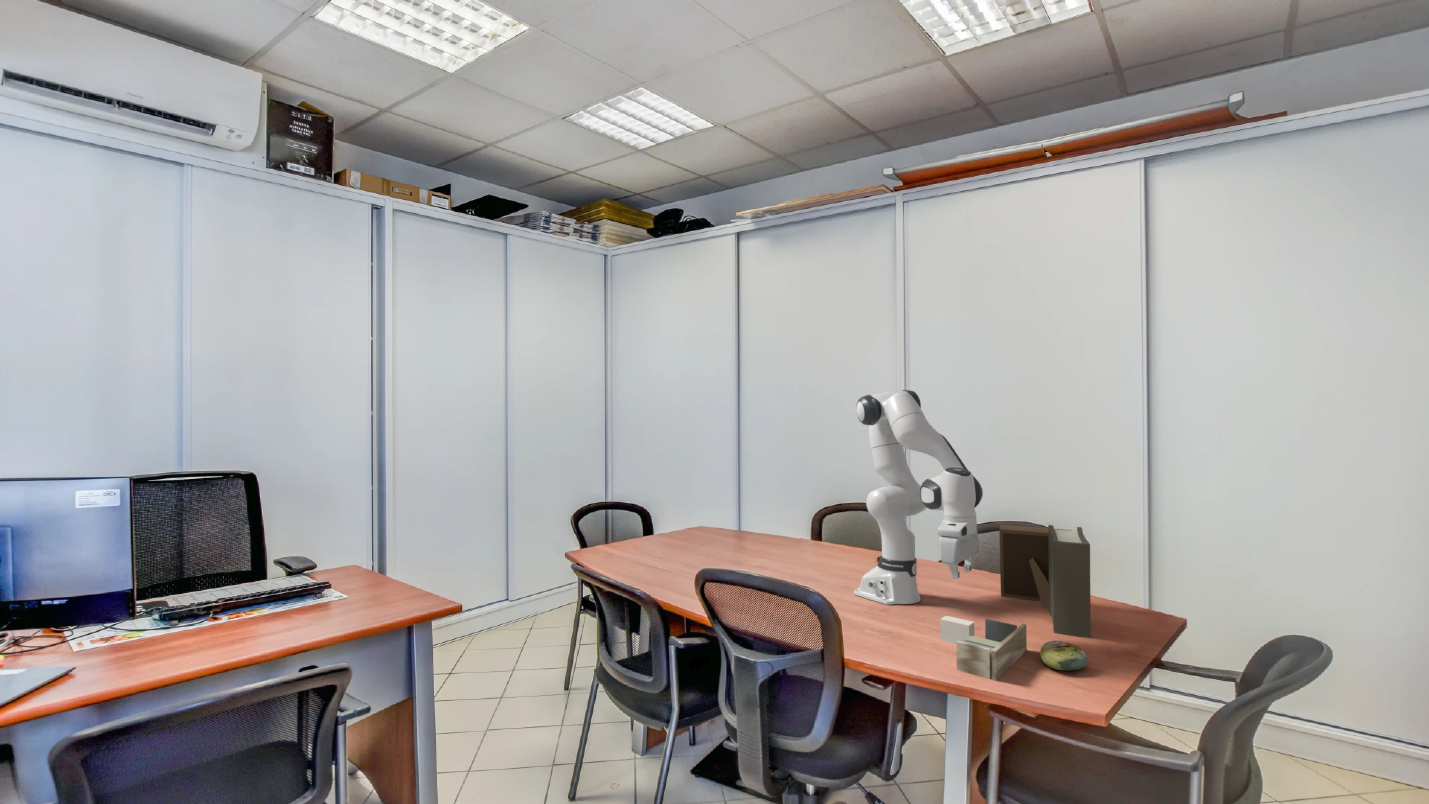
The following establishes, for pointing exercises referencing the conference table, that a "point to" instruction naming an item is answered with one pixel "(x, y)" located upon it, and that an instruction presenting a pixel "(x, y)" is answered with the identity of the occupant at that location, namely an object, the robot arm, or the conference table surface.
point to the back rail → (1002, 655)
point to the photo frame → (1024, 563)
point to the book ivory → (955, 629)
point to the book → (1069, 582)
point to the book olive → (982, 641)
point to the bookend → (998, 630)
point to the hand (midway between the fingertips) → (961, 574)
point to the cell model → (1063, 656)
